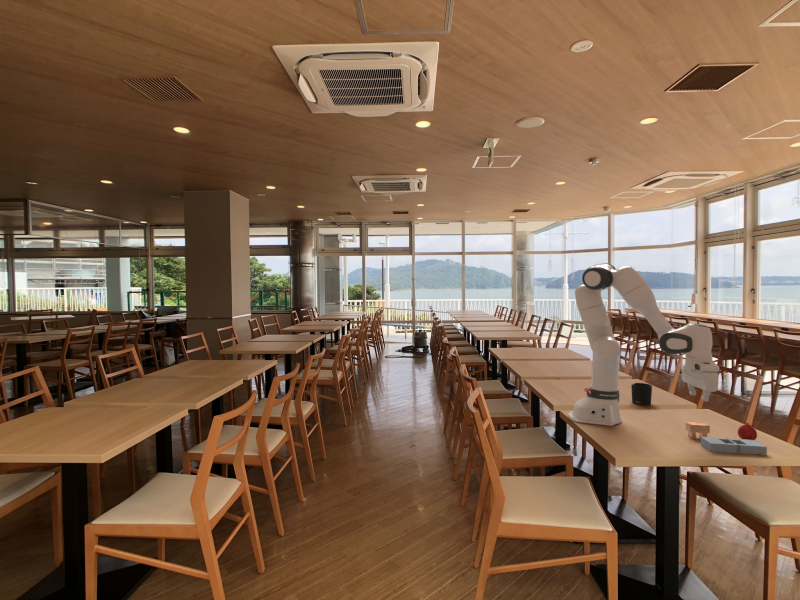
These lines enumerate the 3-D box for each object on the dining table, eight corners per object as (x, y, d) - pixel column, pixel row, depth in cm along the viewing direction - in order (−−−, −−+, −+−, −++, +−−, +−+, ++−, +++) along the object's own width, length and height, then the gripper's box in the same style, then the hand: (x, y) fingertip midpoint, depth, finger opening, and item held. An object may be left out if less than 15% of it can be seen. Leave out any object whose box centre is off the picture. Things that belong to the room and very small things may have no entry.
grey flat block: (710, 451, 151) (710, 443, 151) (700, 444, 158) (700, 436, 158) (766, 455, 148) (766, 446, 148) (753, 447, 155) (753, 440, 155)
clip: (690, 438, 165) (690, 424, 165) (685, 435, 168) (685, 421, 168) (709, 439, 163) (709, 425, 163) (704, 436, 167) (705, 422, 167)
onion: (737, 439, 164) (737, 419, 164) (756, 442, 160) (756, 422, 160) (737, 443, 159) (737, 422, 159) (757, 446, 156) (757, 425, 156)
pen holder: (627, 401, 222) (627, 382, 222) (645, 401, 222) (645, 382, 222) (637, 405, 213) (637, 386, 212) (655, 405, 212) (656, 386, 212)
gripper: (677, 359, 176) (677, 391, 176) (703, 367, 156) (703, 404, 156) (694, 359, 175) (694, 392, 175) (722, 368, 155) (722, 404, 155)
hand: (698, 397), depth 165 cm, fingers open, 8 cm apart
